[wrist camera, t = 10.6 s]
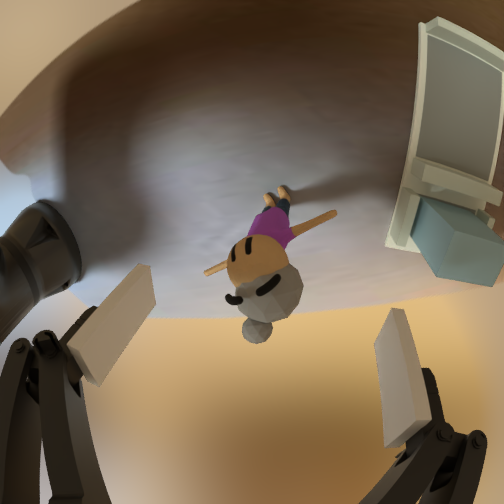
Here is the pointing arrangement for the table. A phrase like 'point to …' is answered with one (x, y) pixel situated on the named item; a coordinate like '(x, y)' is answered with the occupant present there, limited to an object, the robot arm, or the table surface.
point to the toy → (266, 268)
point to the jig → (451, 127)
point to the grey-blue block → (457, 243)
